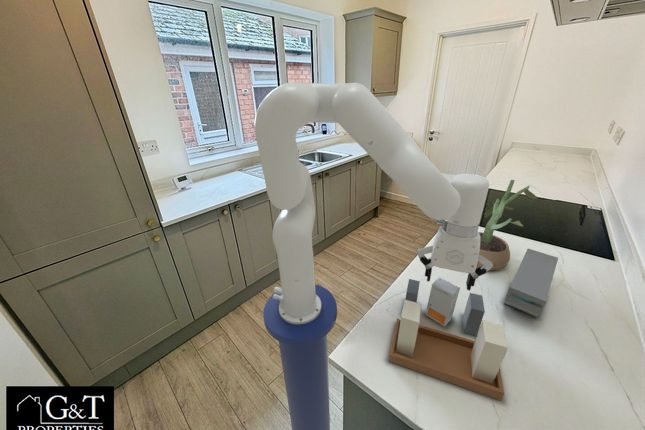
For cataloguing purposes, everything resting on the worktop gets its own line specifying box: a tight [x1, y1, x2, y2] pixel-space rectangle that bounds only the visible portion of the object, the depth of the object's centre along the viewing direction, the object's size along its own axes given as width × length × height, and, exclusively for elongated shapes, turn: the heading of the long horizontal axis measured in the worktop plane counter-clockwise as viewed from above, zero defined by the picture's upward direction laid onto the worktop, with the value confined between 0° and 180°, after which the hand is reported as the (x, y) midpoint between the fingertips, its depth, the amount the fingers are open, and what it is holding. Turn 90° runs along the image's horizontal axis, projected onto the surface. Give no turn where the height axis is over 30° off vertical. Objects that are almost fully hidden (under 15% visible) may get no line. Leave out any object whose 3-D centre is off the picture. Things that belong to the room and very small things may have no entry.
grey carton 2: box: [462, 292, 486, 337], centre depth 70 cm, size 3×6×9 cm, turn 157°
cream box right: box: [471, 319, 509, 384], centre depth 58 cm, size 4×6×12 cm, turn 157°
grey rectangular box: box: [504, 248, 559, 318], centre depth 78 cm, size 25×8×11 cm, turn 136°
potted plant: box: [476, 179, 538, 271], centre depth 94 cm, size 22×18×30 cm
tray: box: [388, 318, 505, 401], centre depth 64 cm, size 24×12×3 cm, turn 67°
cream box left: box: [396, 299, 422, 357], centre depth 64 cm, size 4×6×12 cm, turn 157°
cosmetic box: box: [425, 277, 461, 327], centre depth 73 cm, size 6×4×12 cm
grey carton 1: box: [404, 278, 421, 303], centre depth 76 cm, size 3×6×9 cm, turn 157°
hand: (447, 282), depth 70 cm, fingers open, 9 cm apart
